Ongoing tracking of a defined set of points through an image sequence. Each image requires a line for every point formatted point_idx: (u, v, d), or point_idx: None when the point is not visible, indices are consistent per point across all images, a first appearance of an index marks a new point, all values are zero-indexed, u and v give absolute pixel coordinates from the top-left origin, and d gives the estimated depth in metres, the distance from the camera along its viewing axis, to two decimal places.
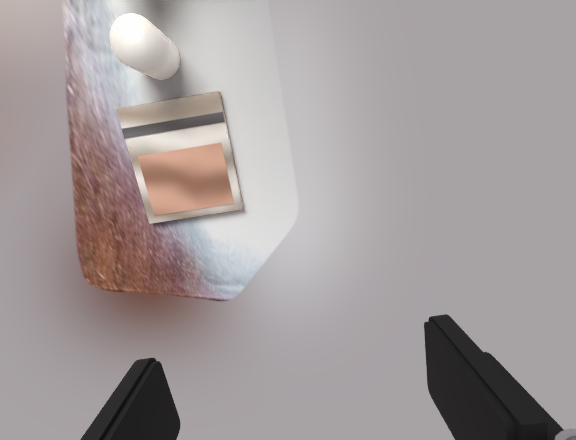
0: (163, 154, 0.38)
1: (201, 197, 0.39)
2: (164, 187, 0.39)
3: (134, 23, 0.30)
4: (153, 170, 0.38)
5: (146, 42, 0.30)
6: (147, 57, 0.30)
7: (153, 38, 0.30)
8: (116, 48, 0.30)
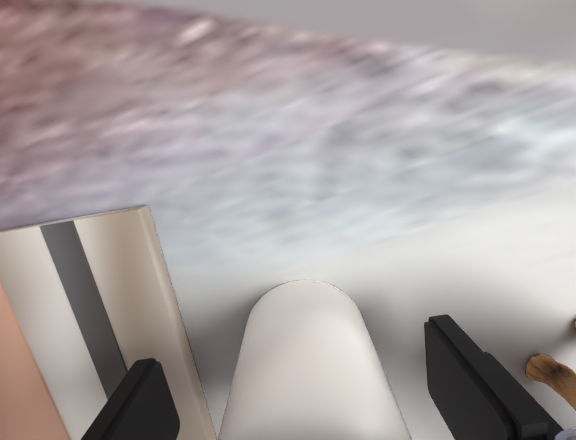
0: (17, 340, 0.12)
1: None
2: None
3: None
4: None
5: None
6: None
7: None
8: (286, 431, 0.06)
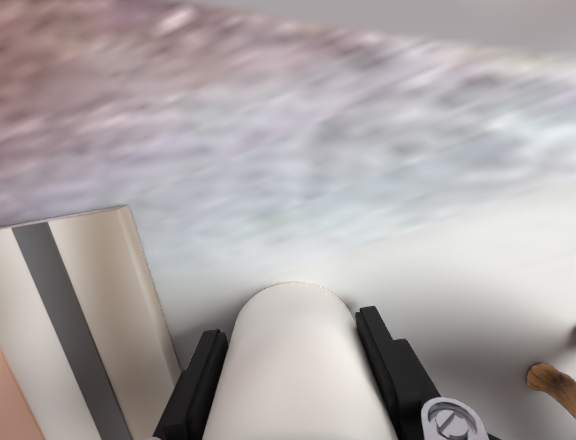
0: None
1: None
2: None
3: None
4: None
5: None
6: None
7: None
8: None
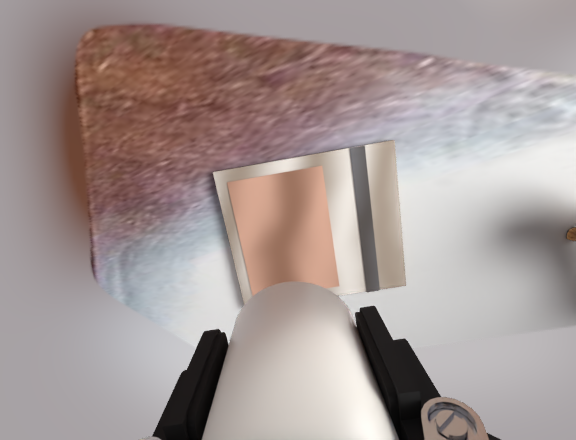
0: (324, 205, 0.25)
1: (259, 256, 0.26)
2: (273, 202, 0.25)
3: None
4: (300, 188, 0.25)
5: None
6: None
7: None
8: None
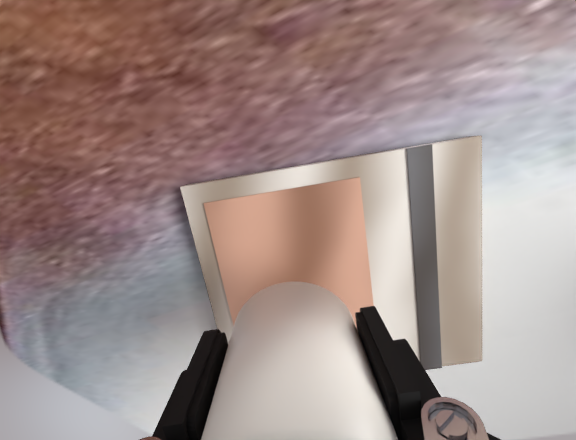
0: (360, 241, 0.15)
1: None
2: (279, 236, 0.15)
3: None
4: (322, 213, 0.15)
5: None
6: None
7: None
8: None
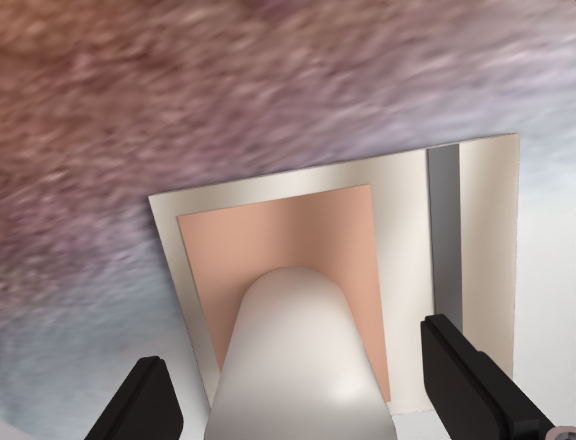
0: (370, 261, 0.13)
1: None
2: (271, 255, 0.13)
3: None
4: (324, 228, 0.12)
5: None
6: None
7: None
8: (272, 389, 0.07)
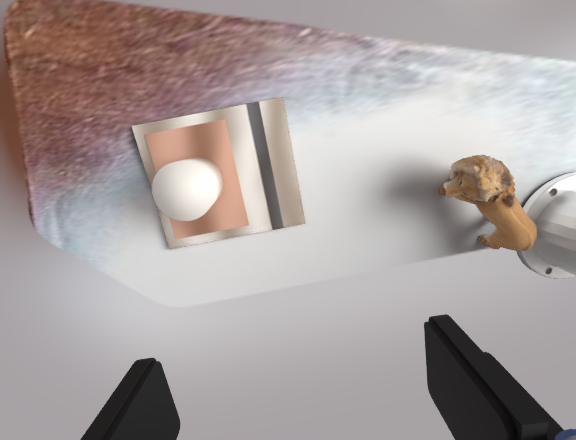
0: (229, 154, 0.30)
1: None
2: (186, 152, 0.29)
3: (202, 193, 0.25)
4: (207, 139, 0.29)
5: (183, 206, 0.25)
6: (166, 206, 0.25)
7: (189, 214, 0.25)
8: (171, 169, 0.24)
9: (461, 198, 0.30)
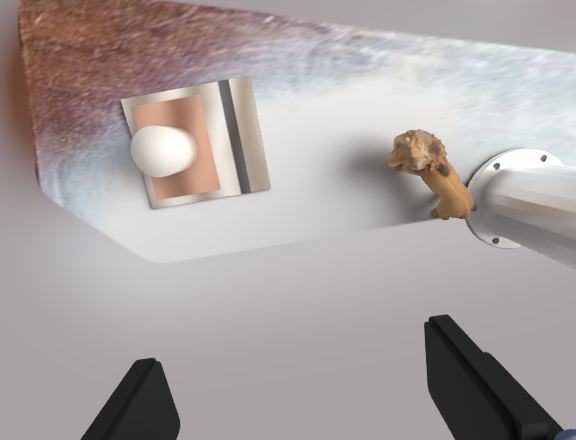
0: (203, 125, 0.34)
1: None
2: (166, 123, 0.34)
3: (171, 153, 0.29)
4: (184, 112, 0.34)
5: (156, 164, 0.29)
6: (143, 164, 0.29)
7: (161, 172, 0.30)
8: (145, 132, 0.29)
9: (408, 171, 0.33)
